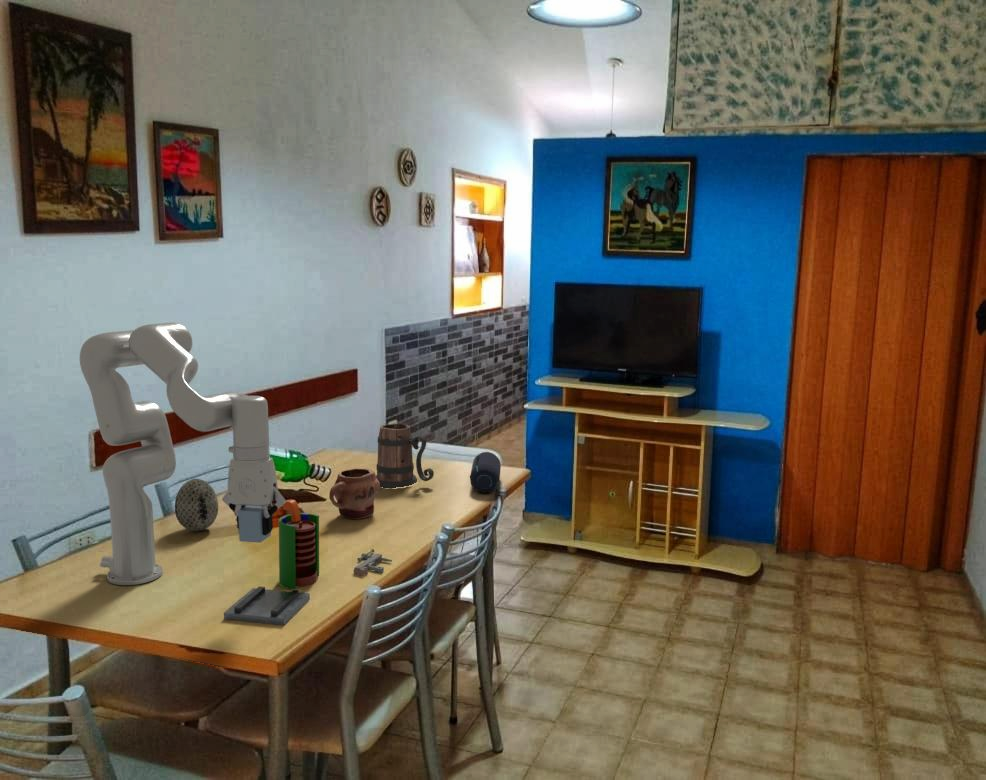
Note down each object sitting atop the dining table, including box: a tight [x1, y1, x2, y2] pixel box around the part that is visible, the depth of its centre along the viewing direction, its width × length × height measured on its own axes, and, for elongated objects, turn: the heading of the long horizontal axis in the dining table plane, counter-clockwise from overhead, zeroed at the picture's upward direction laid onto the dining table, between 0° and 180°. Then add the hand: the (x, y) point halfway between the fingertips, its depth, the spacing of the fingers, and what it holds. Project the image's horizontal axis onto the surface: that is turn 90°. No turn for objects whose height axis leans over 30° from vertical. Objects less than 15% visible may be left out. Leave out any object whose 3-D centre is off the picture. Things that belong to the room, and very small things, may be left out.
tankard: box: [375, 423, 435, 489], centre depth 294 cm, size 24×17×20 cm
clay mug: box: [328, 468, 381, 520], centre depth 257 cm, size 20×12×14 cm, turn 152°
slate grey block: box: [238, 505, 272, 544], centre depth 190 cm, size 5×7×7 cm
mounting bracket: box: [223, 586, 311, 626], centre depth 191 cm, size 14×14×2 cm
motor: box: [278, 499, 320, 590], centre depth 207 cm, size 10×9×20 cm
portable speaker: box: [469, 451, 502, 493], centre depth 294 cm, size 25×10×10 cm, turn 178°
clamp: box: [353, 548, 393, 577], centre depth 219 cm, size 15×2×10 cm
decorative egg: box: [174, 478, 219, 532], centre depth 243 cm, size 12×12×15 cm
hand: (255, 531), depth 189 cm, fingers closed on slate grey block, 5 cm apart
